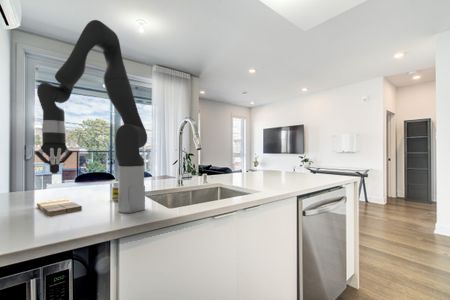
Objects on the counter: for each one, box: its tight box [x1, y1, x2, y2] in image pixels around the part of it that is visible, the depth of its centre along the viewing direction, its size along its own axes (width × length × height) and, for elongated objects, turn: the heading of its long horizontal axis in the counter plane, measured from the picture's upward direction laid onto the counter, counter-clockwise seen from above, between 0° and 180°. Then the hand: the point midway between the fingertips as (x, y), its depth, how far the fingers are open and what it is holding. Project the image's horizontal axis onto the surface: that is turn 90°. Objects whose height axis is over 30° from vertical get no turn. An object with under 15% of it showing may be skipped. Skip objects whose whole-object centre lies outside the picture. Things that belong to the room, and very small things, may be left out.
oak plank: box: [36, 198, 72, 212], centre depth 87 cm, size 10×10×2 cm
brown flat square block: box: [42, 201, 83, 217], centre depth 80 cm, size 10×10×2 cm
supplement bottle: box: [111, 181, 118, 202], centre depth 99 cm, size 5×5×8 cm
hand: (54, 173), depth 87 cm, fingers closed
